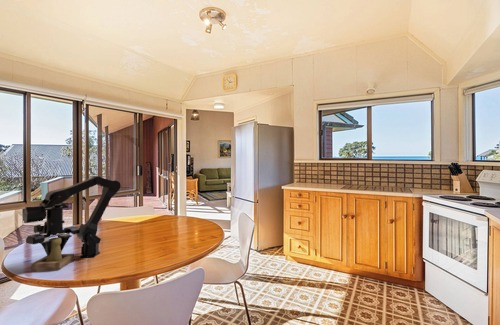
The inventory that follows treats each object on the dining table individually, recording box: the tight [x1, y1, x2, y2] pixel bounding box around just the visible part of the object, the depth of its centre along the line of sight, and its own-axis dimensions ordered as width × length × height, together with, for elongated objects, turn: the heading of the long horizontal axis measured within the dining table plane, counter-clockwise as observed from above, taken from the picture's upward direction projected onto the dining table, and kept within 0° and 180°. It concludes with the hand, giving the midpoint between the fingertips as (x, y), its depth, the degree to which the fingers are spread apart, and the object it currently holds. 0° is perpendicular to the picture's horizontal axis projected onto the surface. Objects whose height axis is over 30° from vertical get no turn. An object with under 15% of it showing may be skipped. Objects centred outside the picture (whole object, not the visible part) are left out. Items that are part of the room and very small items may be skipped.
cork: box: [46, 237, 63, 262], centre depth 110 cm, size 6×6×11 cm
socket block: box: [30, 253, 75, 272], centre depth 110 cm, size 11×11×3 cm
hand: (54, 253), depth 110 cm, fingers closed on cork, 4 cm apart
